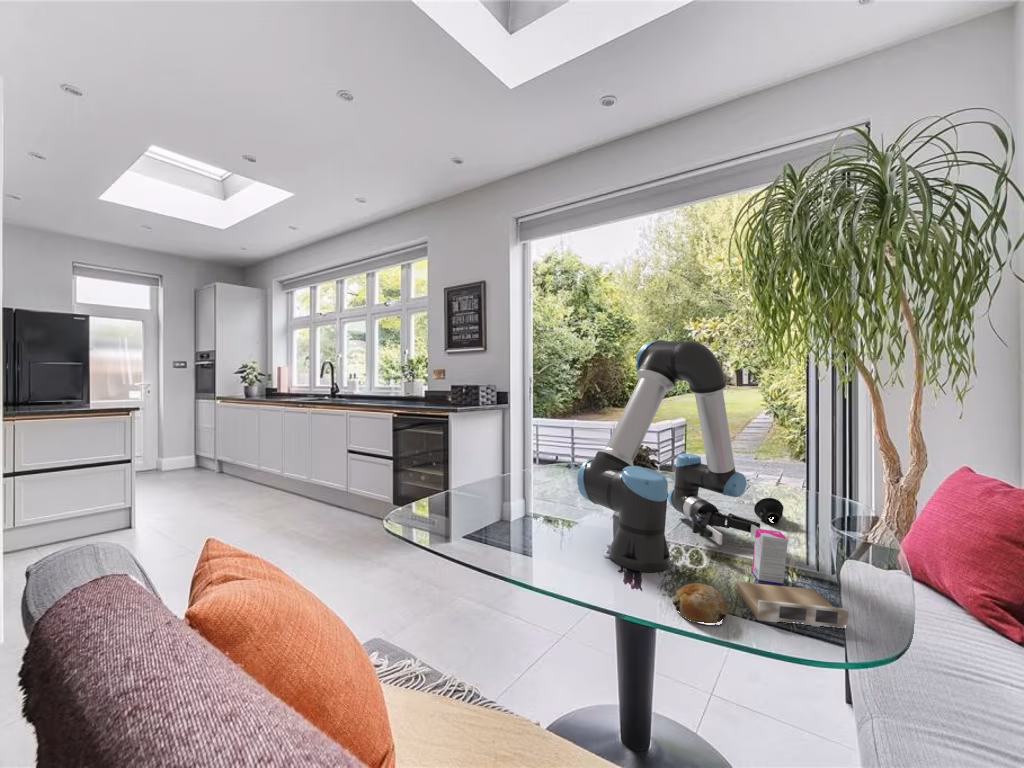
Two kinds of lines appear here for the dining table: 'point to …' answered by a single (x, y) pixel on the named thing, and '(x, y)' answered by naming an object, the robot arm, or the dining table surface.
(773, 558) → the supplement box
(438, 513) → the dining table surface
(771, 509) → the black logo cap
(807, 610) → the tan slab
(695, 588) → the bread roll
